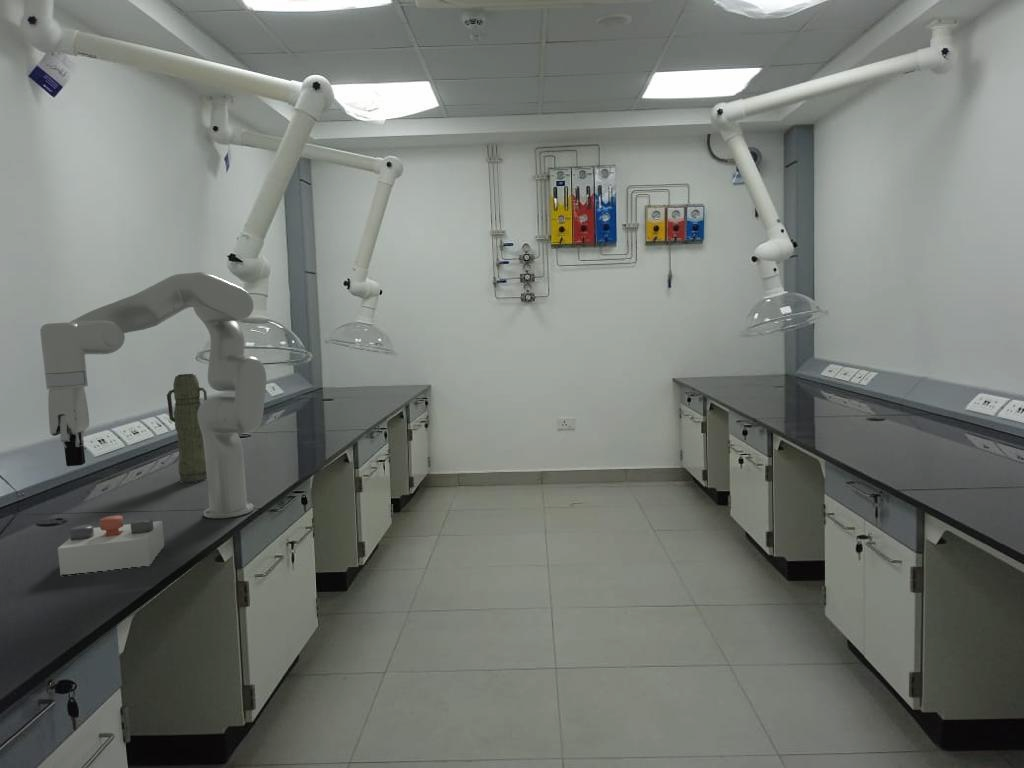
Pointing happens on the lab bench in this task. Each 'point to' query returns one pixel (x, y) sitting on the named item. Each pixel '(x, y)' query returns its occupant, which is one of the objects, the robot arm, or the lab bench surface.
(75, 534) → the grey knob
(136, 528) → the grey knob
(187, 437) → the thermos
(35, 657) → the lab bench surface
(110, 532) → the red knob
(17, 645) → the lab bench surface
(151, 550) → the control box
